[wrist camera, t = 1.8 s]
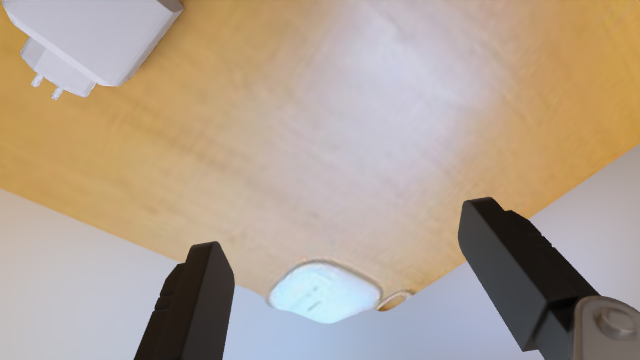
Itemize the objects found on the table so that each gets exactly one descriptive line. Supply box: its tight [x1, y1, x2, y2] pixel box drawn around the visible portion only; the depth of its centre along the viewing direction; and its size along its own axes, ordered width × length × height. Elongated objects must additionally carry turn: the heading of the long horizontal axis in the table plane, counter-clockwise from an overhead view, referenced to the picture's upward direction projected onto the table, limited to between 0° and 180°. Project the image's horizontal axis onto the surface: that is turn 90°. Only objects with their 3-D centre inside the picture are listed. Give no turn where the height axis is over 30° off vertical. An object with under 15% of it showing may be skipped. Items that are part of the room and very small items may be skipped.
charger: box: [2, 0, 184, 100], centre depth 27 cm, size 5×9×15 cm
